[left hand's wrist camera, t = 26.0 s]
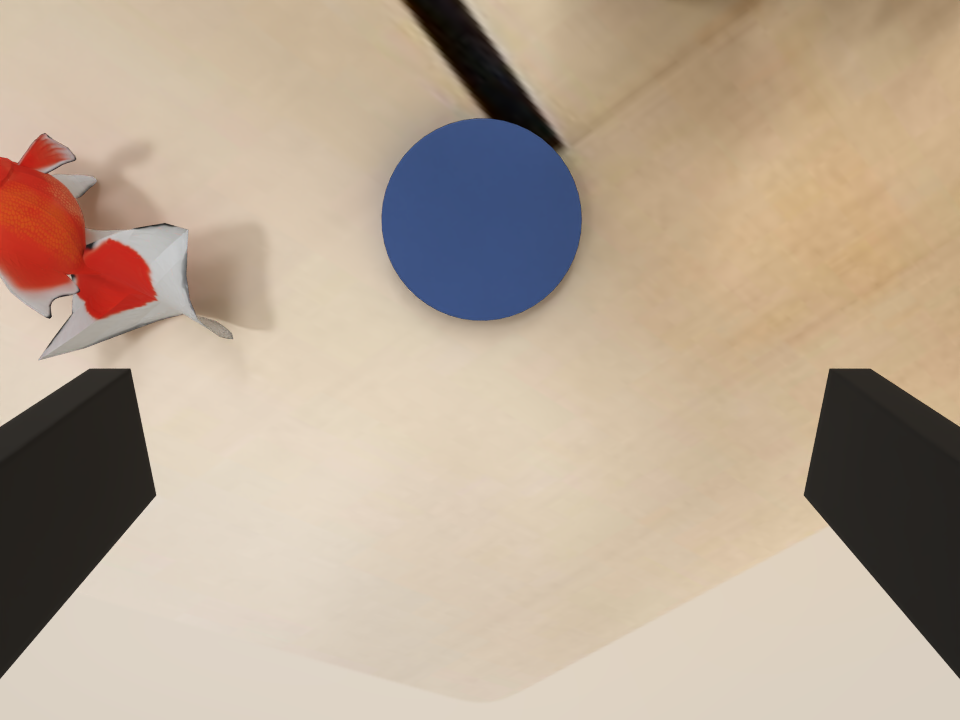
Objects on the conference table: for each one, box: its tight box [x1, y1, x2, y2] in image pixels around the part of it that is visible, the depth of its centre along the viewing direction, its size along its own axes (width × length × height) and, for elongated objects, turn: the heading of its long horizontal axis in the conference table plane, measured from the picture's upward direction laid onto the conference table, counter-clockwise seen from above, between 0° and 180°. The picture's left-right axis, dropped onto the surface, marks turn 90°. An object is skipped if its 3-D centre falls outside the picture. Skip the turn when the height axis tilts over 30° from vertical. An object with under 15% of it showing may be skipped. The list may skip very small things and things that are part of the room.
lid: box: [382, 118, 582, 321], centre depth 37 cm, size 11×11×2 cm
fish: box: [0, 133, 233, 360], centre depth 35 cm, size 11×16×10 cm
